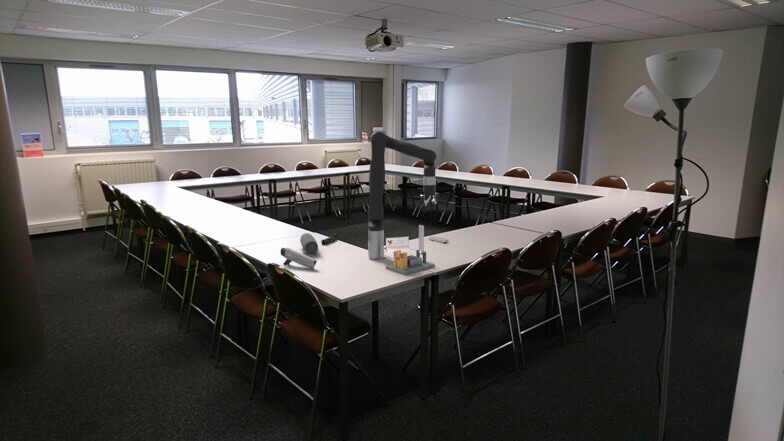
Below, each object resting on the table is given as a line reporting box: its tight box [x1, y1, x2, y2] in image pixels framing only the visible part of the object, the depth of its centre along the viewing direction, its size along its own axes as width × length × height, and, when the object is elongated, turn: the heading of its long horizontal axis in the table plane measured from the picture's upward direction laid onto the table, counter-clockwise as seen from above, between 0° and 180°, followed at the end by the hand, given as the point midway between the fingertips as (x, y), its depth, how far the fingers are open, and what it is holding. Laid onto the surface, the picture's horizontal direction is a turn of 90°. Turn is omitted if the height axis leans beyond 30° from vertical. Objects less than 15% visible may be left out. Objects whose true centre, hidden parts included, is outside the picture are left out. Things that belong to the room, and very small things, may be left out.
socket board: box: [385, 249, 436, 276], centre depth 259 cm, size 23×16×8 cm
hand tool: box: [320, 232, 339, 246], centre depth 319 cm, size 19×4×5 cm, turn 154°
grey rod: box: [418, 224, 425, 256], centre depth 263 cm, size 2×3×17 cm, turn 41°
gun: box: [280, 247, 317, 270], centre depth 263 cm, size 2×25×10 cm, turn 62°
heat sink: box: [407, 254, 423, 268], centre depth 260 cm, size 9×9×4 cm
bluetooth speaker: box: [299, 232, 319, 255], centre depth 294 cm, size 23×9×10 cm, turn 18°
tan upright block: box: [393, 249, 408, 270], centre depth 254 cm, size 4×7×9 cm, turn 41°
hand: (429, 211), depth 277 cm, fingers open, 7 cm apart
